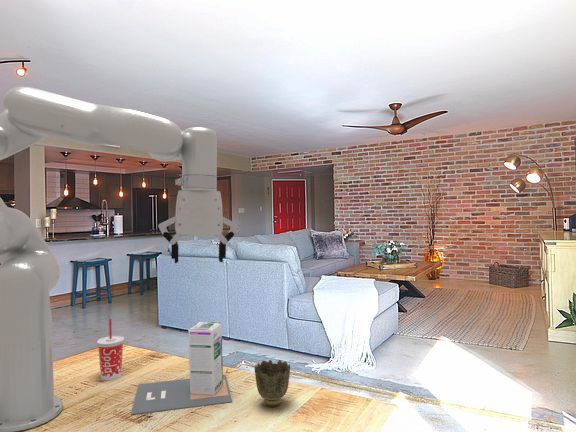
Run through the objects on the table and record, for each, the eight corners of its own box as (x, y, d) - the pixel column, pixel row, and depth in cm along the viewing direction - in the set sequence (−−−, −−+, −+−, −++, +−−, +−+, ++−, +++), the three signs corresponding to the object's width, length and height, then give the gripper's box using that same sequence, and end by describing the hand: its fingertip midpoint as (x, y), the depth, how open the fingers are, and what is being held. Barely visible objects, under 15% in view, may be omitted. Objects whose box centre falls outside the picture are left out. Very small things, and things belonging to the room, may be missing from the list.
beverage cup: (92, 381, 97) (90, 322, 96) (106, 370, 103) (105, 315, 102) (116, 382, 96) (115, 323, 96) (129, 371, 102) (128, 316, 102)
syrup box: (214, 396, 88) (213, 329, 87) (188, 394, 89) (187, 328, 88) (223, 384, 93) (222, 321, 93) (199, 383, 94) (198, 320, 94)
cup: (250, 411, 82) (250, 372, 81) (258, 394, 89) (258, 358, 89) (287, 414, 80) (287, 374, 80) (292, 396, 88) (292, 360, 88)
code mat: (130, 414, 81) (130, 413, 81) (138, 385, 94) (138, 384, 94) (232, 402, 86) (232, 401, 86) (225, 375, 99) (225, 374, 99)
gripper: (157, 182, 85) (156, 265, 85) (240, 184, 89) (239, 263, 89) (159, 184, 92) (159, 260, 92) (236, 186, 96) (235, 259, 96)
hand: (198, 261), depth 91 cm, fingers open, 9 cm apart
